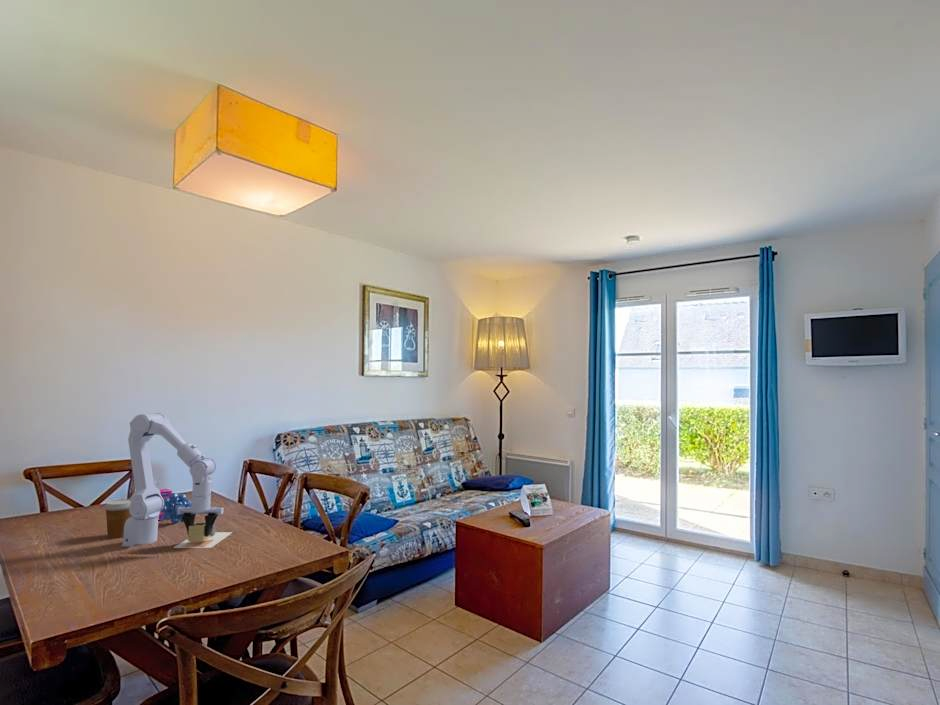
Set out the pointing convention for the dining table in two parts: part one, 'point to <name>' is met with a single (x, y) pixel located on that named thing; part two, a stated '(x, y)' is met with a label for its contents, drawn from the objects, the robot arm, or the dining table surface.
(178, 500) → the grapes
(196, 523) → the sleeve
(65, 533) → the dining table surface
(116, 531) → the disposable coffee cup
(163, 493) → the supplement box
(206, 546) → the board
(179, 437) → the robot arm
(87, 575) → the dining table surface
